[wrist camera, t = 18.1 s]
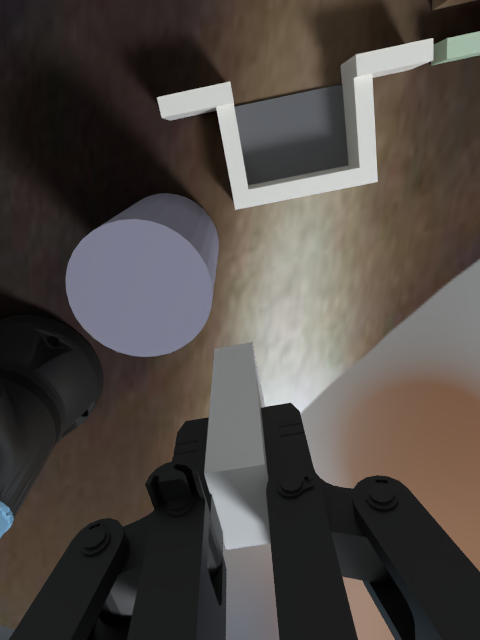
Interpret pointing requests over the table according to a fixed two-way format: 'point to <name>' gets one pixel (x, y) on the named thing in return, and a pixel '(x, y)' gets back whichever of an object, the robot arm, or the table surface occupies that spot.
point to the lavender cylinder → (146, 276)
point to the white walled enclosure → (301, 130)
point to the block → (447, 3)
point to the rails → (456, 48)
